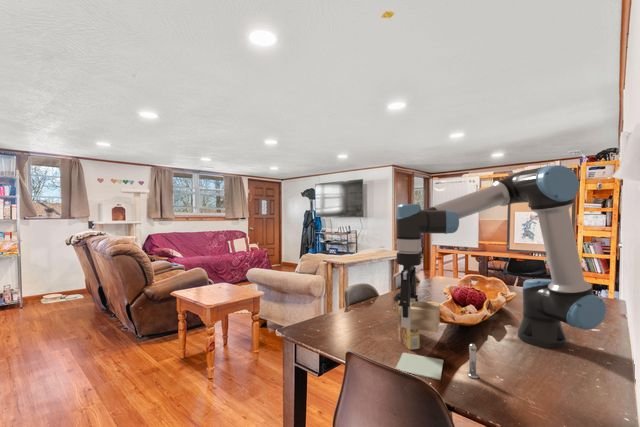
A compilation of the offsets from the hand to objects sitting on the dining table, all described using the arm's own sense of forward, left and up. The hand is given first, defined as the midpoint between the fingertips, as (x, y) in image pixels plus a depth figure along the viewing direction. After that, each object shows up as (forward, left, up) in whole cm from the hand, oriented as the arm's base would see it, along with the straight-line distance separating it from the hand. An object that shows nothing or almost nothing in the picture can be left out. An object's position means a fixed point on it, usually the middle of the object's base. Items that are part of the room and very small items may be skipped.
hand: (408, 322), depth 101 cm
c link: (-4, 0, 0) cm, 4 cm away
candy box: (+2, -15, -13) cm, 20 cm away
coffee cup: (+5, -27, -13) cm, 31 cm away
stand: (-19, 0, -13) cm, 23 cm away
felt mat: (-4, 0, -13) cm, 14 cm away
